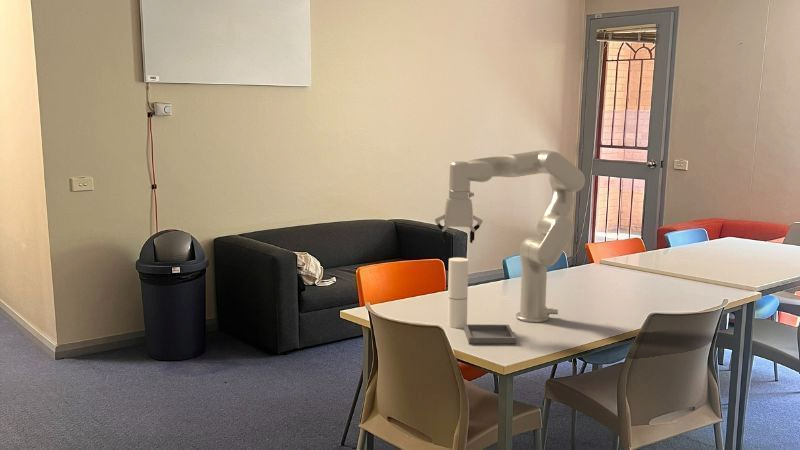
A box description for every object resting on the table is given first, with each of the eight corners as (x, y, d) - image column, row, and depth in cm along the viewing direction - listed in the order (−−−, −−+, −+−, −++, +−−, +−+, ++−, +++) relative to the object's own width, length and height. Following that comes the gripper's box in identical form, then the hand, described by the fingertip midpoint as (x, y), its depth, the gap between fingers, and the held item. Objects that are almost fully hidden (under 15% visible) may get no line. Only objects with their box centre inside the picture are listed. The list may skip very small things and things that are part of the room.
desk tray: (508, 331, 272) (508, 324, 271) (515, 344, 256) (515, 337, 256) (464, 330, 271) (464, 324, 271) (469, 344, 256) (469, 337, 255)
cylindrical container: (465, 322, 282) (467, 257, 278) (467, 328, 275) (469, 261, 271) (446, 322, 282) (447, 257, 278) (448, 328, 275) (449, 261, 271)
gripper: (481, 195, 275) (480, 240, 277) (434, 194, 275) (433, 240, 277) (484, 197, 267) (482, 244, 270) (436, 196, 267) (434, 243, 270)
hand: (458, 242), depth 273 cm, fingers open, 9 cm apart
